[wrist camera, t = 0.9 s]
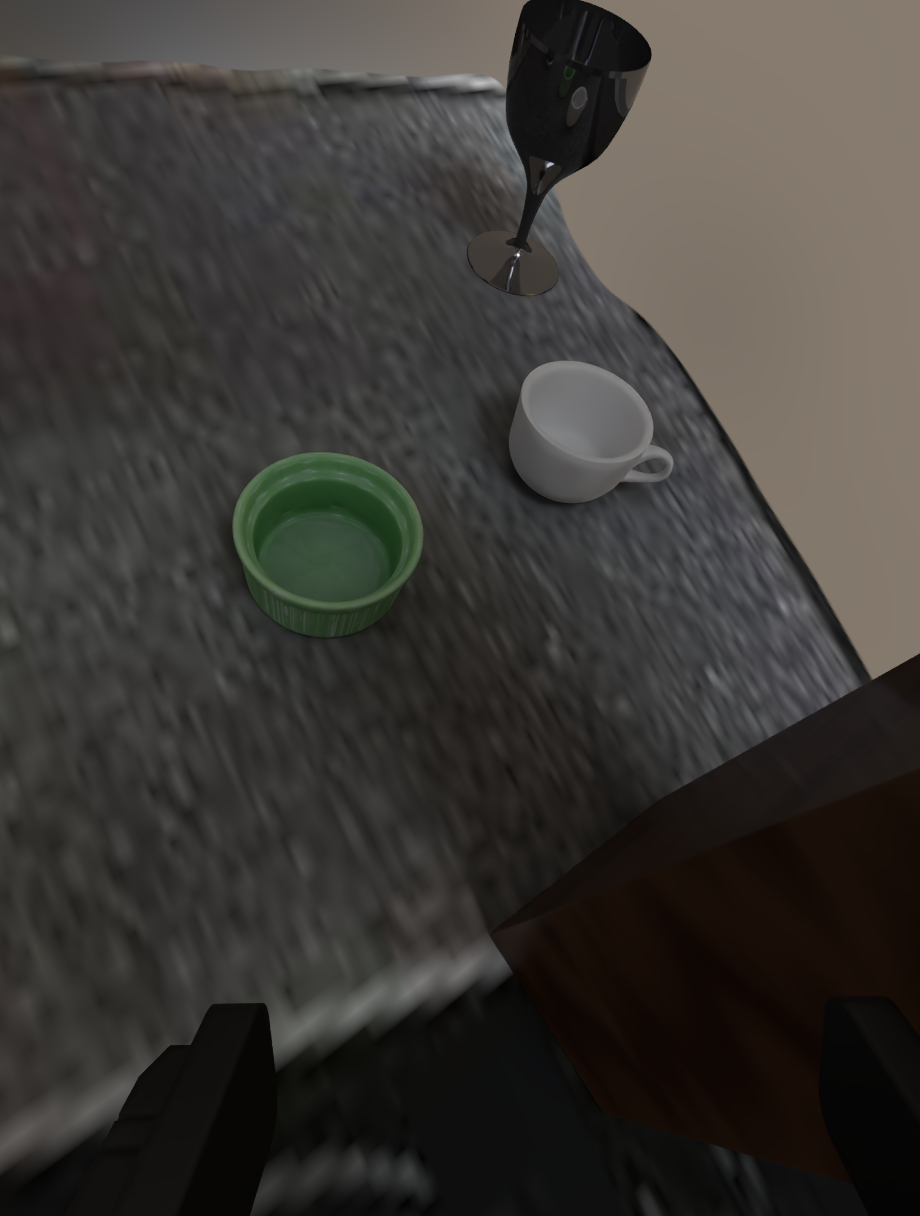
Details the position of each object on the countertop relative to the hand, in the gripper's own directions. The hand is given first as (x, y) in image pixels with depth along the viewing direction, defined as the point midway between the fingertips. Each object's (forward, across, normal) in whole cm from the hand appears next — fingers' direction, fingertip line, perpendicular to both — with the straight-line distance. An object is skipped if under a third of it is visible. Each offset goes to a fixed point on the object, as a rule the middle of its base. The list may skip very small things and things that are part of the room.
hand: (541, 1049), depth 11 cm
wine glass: (+50, -2, -21) cm, 55 cm away
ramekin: (+29, +9, -2) cm, 30 cm away
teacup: (+38, -5, -6) cm, 39 cm away
